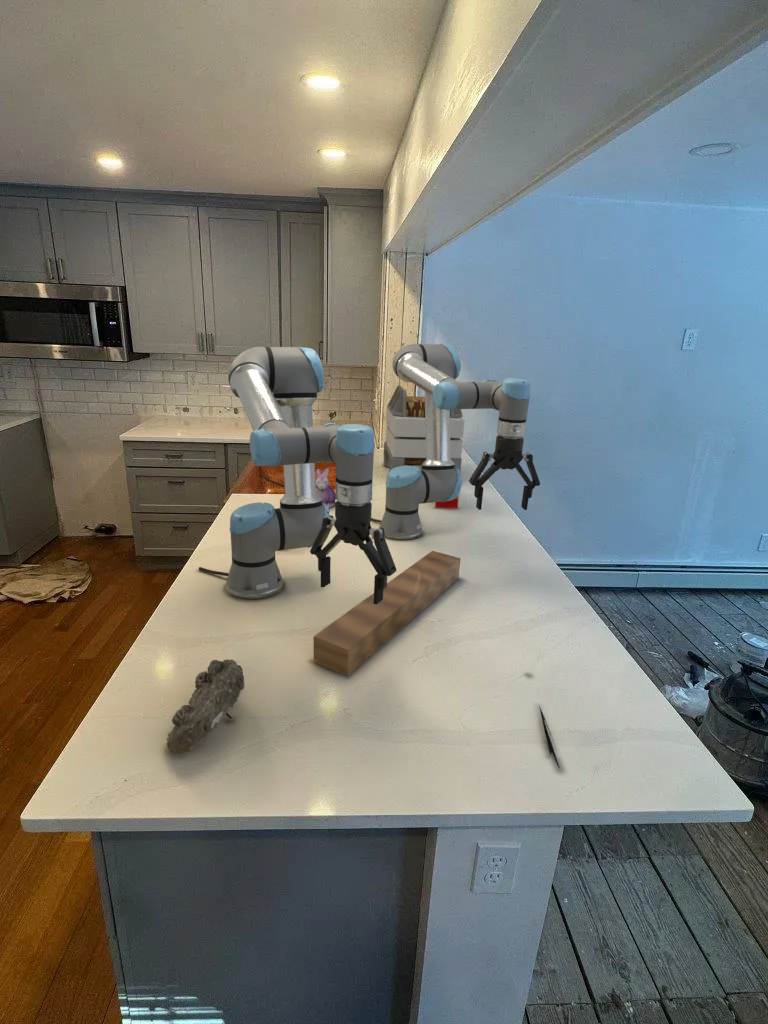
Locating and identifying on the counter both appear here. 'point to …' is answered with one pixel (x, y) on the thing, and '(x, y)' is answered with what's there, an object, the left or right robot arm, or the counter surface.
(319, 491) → the figurine
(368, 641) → the wooden beam
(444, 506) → the toy
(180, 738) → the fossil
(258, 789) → the counter surface
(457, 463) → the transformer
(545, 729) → the feather
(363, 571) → the counter surface
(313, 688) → the counter surface
